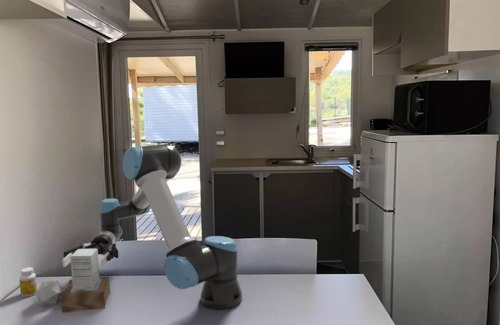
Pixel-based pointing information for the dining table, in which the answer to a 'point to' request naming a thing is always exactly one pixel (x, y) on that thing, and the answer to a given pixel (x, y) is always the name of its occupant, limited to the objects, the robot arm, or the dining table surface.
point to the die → (49, 292)
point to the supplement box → (85, 269)
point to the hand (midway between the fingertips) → (82, 263)
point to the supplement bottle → (27, 282)
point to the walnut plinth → (86, 297)
